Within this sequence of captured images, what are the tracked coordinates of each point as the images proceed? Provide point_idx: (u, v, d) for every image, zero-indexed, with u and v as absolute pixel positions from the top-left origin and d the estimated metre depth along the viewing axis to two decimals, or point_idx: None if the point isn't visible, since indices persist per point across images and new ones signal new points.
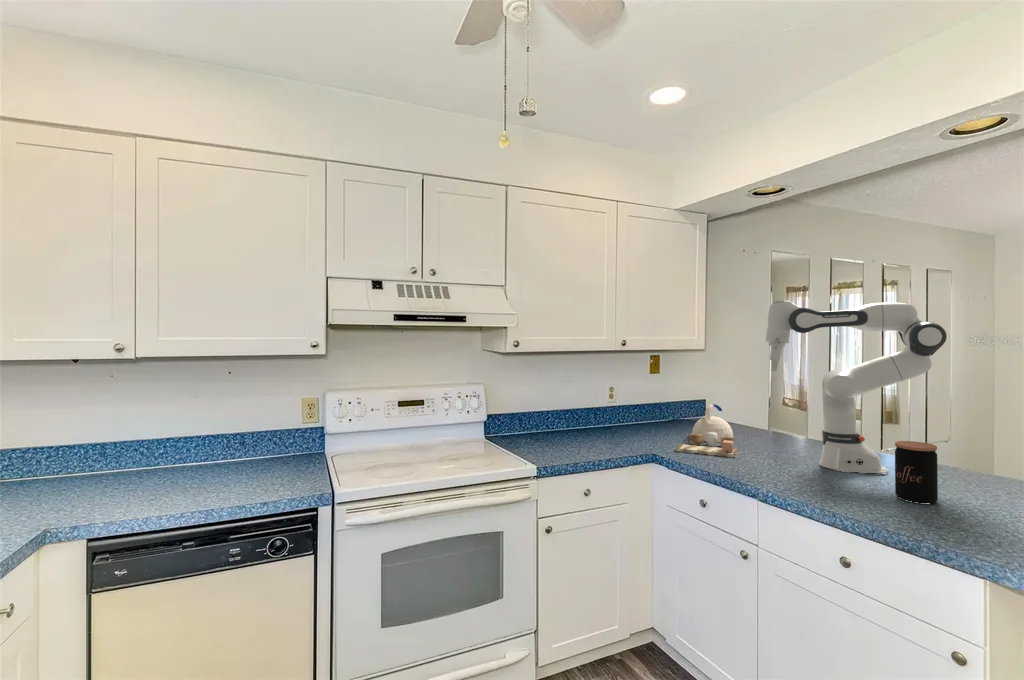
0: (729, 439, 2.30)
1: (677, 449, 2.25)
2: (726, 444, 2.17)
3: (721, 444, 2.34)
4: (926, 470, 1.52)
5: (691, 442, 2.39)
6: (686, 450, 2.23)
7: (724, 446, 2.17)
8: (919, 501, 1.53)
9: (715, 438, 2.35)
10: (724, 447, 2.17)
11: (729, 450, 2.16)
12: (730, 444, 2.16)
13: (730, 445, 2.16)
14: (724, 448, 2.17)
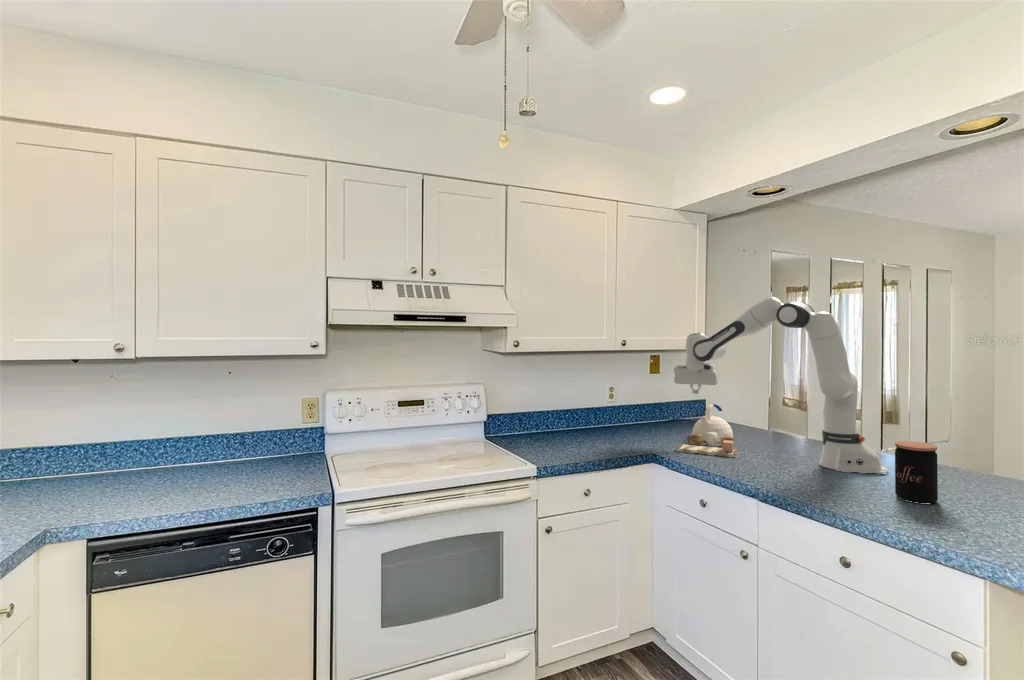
0: (729, 439, 2.30)
1: (677, 449, 2.25)
2: (726, 444, 2.17)
3: (721, 444, 2.34)
4: (926, 470, 1.52)
5: (691, 442, 2.39)
6: (686, 450, 2.23)
7: (724, 446, 2.17)
8: (919, 501, 1.53)
9: (715, 438, 2.35)
10: (724, 447, 2.17)
11: (729, 450, 2.16)
12: (730, 444, 2.16)
13: (730, 445, 2.16)
14: (724, 448, 2.17)
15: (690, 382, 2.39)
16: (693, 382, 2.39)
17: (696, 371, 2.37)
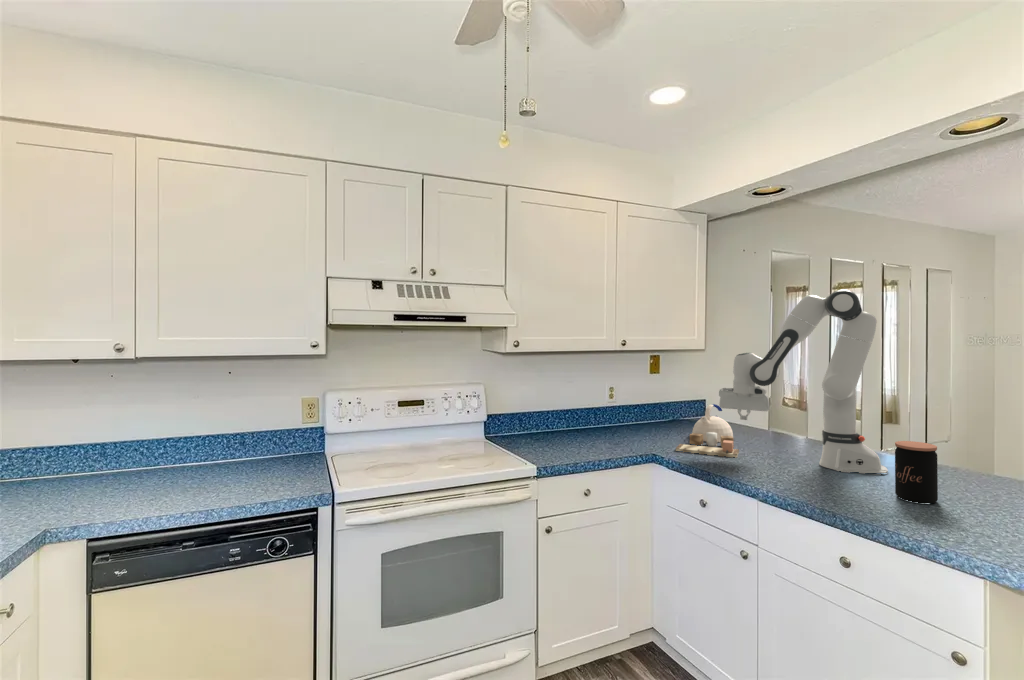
0: (729, 439, 2.30)
1: (677, 449, 2.25)
2: (726, 444, 2.17)
3: (721, 444, 2.34)
4: (926, 470, 1.52)
5: (691, 442, 2.39)
6: (686, 450, 2.23)
7: (724, 446, 2.17)
8: (919, 501, 1.53)
9: (715, 438, 2.35)
10: (724, 447, 2.17)
11: (729, 450, 2.16)
12: (730, 444, 2.16)
13: (730, 445, 2.16)
14: (724, 448, 2.17)
15: (738, 407, 2.15)
16: (741, 407, 2.14)
17: (745, 395, 2.12)
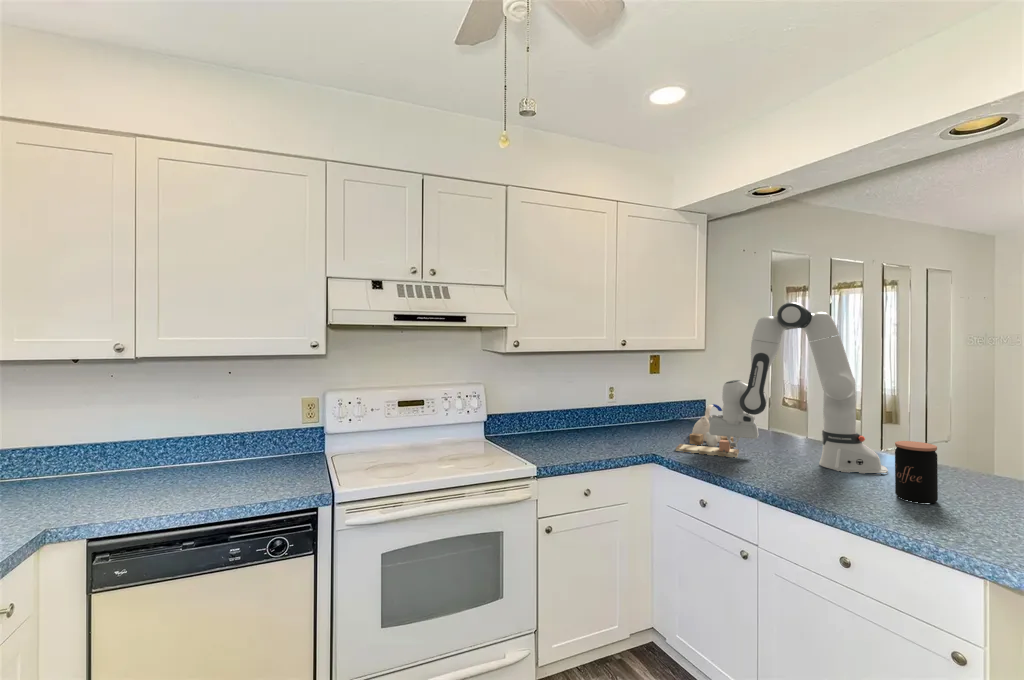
0: None
1: (677, 449, 2.25)
2: (723, 444, 2.18)
3: None
4: (926, 470, 1.52)
5: (691, 442, 2.39)
6: (686, 450, 2.23)
7: (721, 446, 2.18)
8: (919, 501, 1.53)
9: (715, 438, 2.35)
10: (721, 447, 2.18)
11: (726, 450, 2.17)
12: (727, 444, 2.17)
13: (727, 445, 2.17)
14: (721, 448, 2.18)
15: (727, 434, 2.17)
16: (731, 434, 2.17)
17: (734, 423, 2.15)
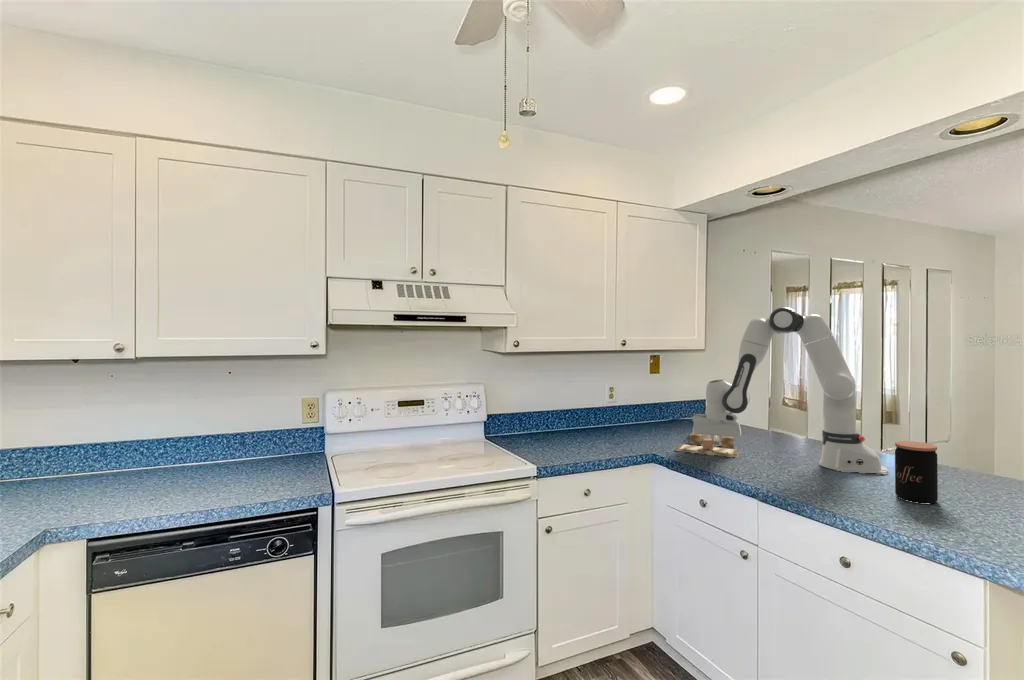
0: (729, 439, 2.30)
1: (677, 449, 2.25)
2: (706, 442, 2.21)
3: (721, 444, 2.34)
4: (926, 470, 1.52)
5: (691, 442, 2.39)
6: (686, 450, 2.23)
7: (704, 444, 2.22)
8: (919, 501, 1.53)
9: (715, 438, 2.35)
10: (705, 445, 2.22)
11: (709, 448, 2.21)
12: (710, 442, 2.20)
13: (710, 443, 2.20)
14: (704, 446, 2.22)
15: (711, 433, 2.21)
16: (714, 433, 2.20)
17: (717, 421, 2.18)
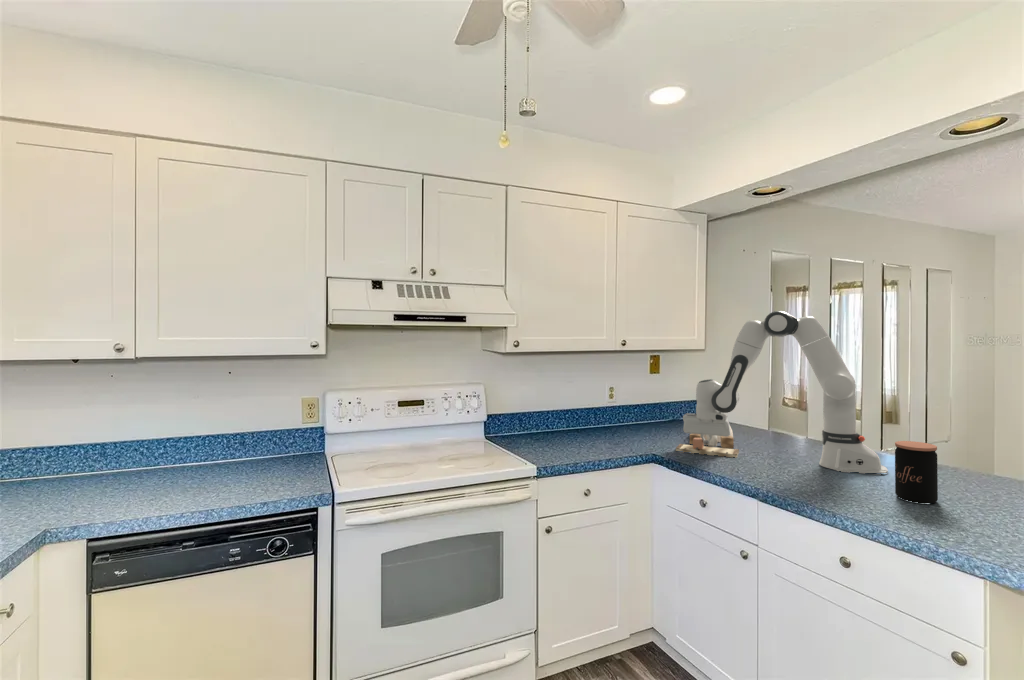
0: (729, 439, 2.30)
1: (677, 449, 2.25)
2: (696, 441, 2.23)
3: (721, 444, 2.34)
4: (926, 470, 1.52)
5: (691, 442, 2.39)
6: (686, 450, 2.23)
7: (694, 443, 2.24)
8: (919, 501, 1.53)
9: (715, 438, 2.35)
10: (695, 444, 2.24)
11: (699, 447, 2.23)
12: (700, 441, 2.23)
13: (700, 442, 2.23)
14: (694, 445, 2.24)
15: (701, 432, 2.23)
16: (704, 432, 2.22)
17: (707, 421, 2.20)
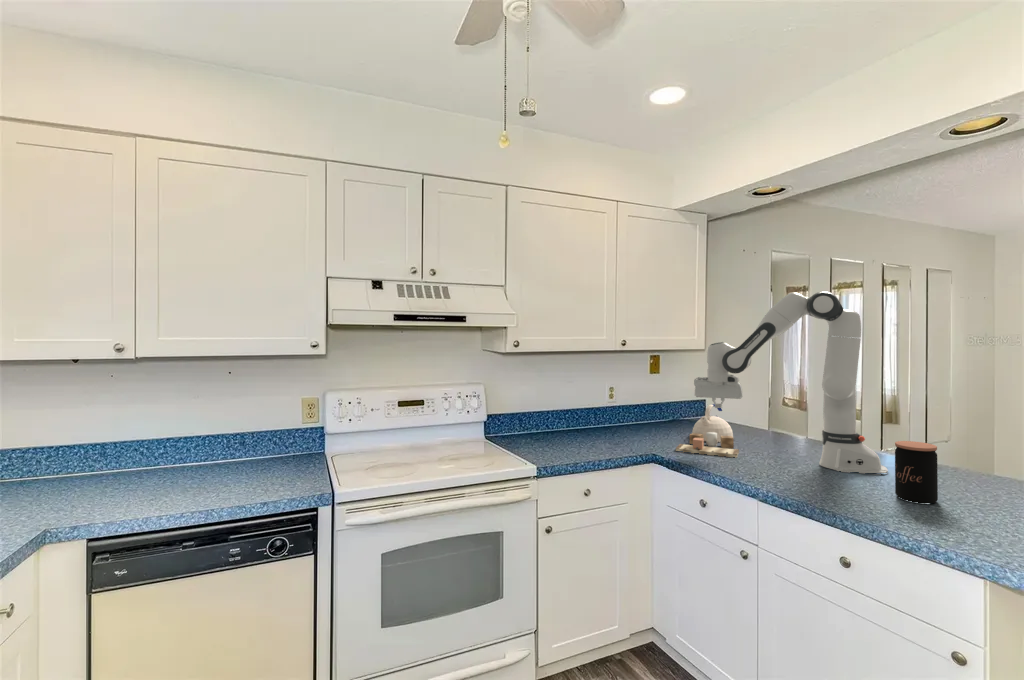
0: (729, 439, 2.30)
1: (677, 449, 2.25)
2: (696, 441, 2.23)
3: (721, 444, 2.34)
4: (926, 470, 1.52)
5: (691, 442, 2.39)
6: (686, 450, 2.23)
7: (694, 443, 2.24)
8: (919, 501, 1.53)
9: (715, 438, 2.35)
10: (694, 444, 2.24)
11: (699, 447, 2.23)
12: (700, 441, 2.23)
13: (700, 442, 2.23)
14: (694, 445, 2.24)
15: (712, 395, 2.20)
16: (716, 395, 2.20)
17: (719, 384, 2.18)
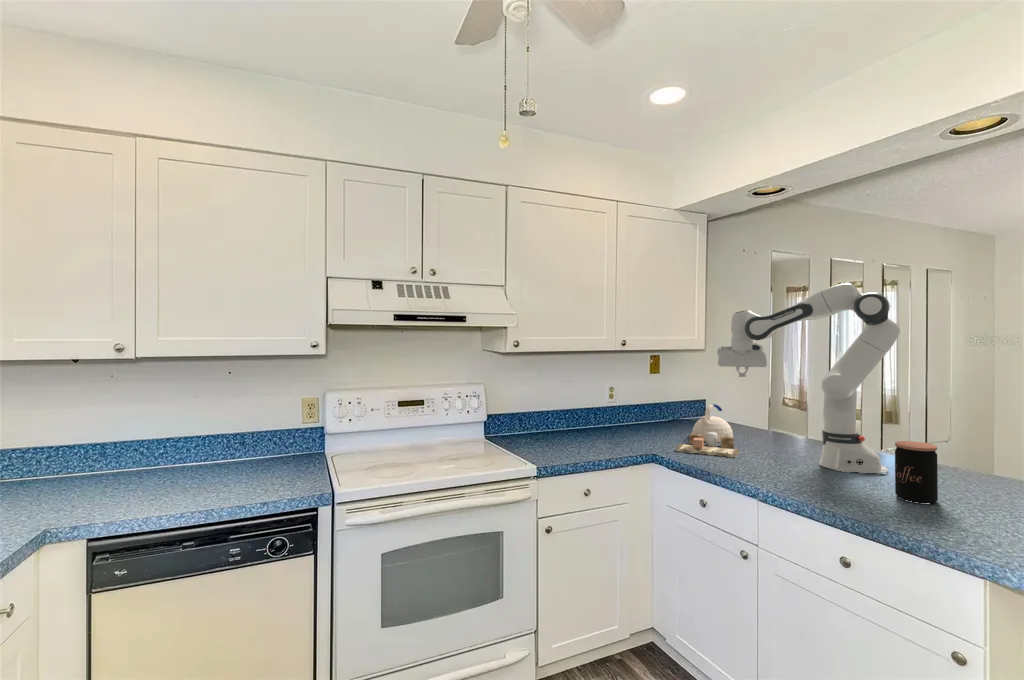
0: (729, 439, 2.30)
1: (677, 449, 2.25)
2: (696, 441, 2.23)
3: (721, 444, 2.34)
4: (926, 470, 1.52)
5: (691, 442, 2.39)
6: (686, 450, 2.23)
7: (694, 443, 2.24)
8: (919, 501, 1.53)
9: (715, 438, 2.35)
10: (694, 444, 2.24)
11: (699, 447, 2.23)
12: (700, 441, 2.23)
13: (700, 442, 2.23)
14: (694, 445, 2.24)
15: (736, 364, 2.19)
16: (740, 364, 2.18)
17: (743, 352, 2.16)
